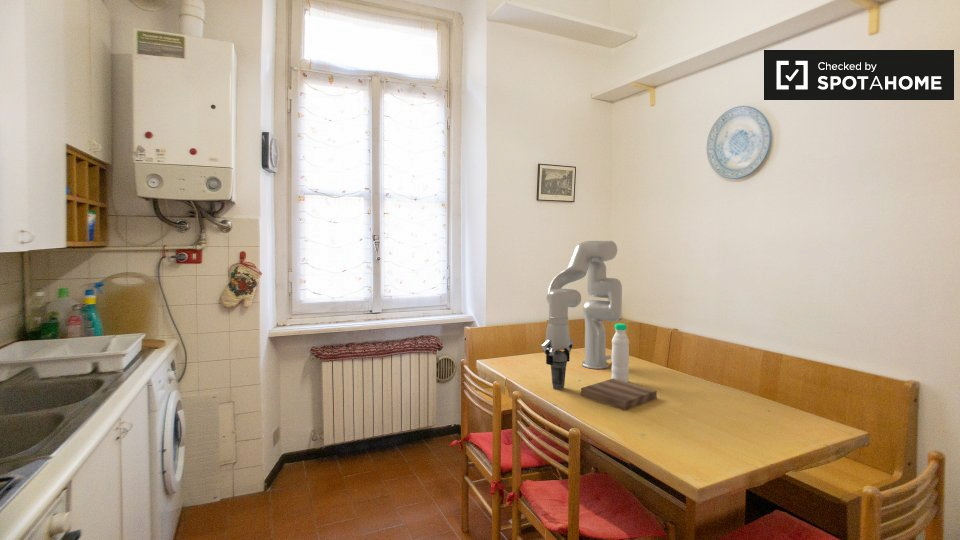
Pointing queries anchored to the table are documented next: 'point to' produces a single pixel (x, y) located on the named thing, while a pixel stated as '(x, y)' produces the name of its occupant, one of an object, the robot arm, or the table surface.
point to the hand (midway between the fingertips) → (557, 362)
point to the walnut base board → (619, 393)
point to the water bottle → (620, 354)
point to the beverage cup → (558, 369)
